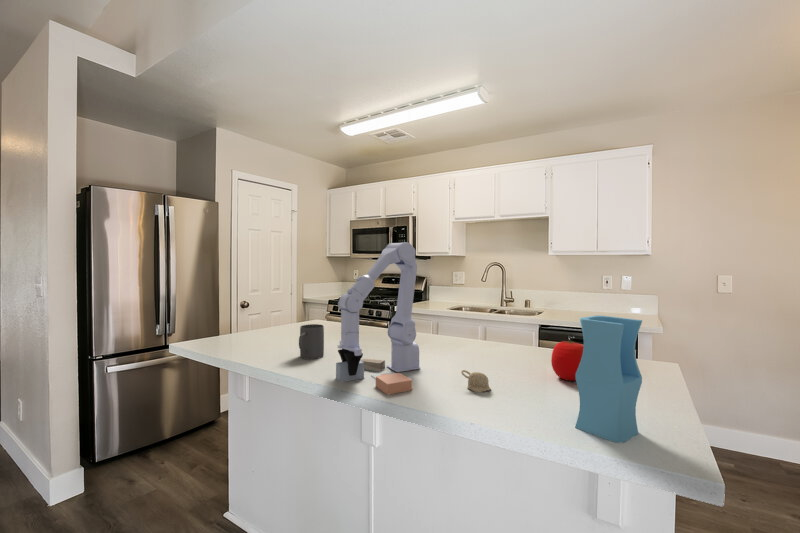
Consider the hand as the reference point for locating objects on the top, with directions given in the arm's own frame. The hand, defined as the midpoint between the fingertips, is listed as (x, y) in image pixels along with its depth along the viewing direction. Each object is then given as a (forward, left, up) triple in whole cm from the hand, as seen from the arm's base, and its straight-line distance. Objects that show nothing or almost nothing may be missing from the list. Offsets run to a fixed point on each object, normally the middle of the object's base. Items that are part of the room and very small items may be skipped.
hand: (350, 373), depth 122 cm
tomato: (-62, +34, -2) cm, 71 cm away
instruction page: (-11, +4, -2) cm, 12 cm away
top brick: (0, 0, -2) cm, 2 cm away
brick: (-11, -7, -2) cm, 13 cm away
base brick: (-8, +15, -2) cm, 17 cm away
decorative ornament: (-29, +27, -2) cm, 40 cm away
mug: (+5, -31, -2) cm, 31 cm away
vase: (-38, +62, -2) cm, 73 cm away
